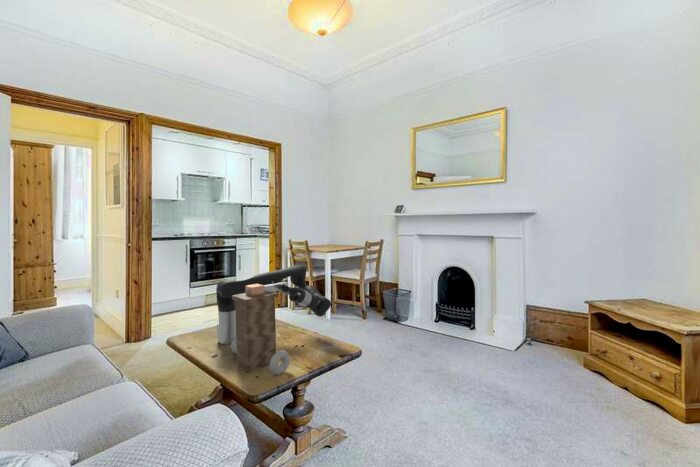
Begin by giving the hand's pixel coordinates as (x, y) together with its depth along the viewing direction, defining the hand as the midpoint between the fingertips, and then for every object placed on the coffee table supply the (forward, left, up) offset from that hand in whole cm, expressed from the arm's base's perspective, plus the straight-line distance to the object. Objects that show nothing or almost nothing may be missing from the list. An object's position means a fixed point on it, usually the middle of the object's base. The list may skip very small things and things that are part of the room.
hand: (276, 285), depth 156 cm
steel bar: (-2, -4, -2) cm, 5 cm away
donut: (+10, -15, -35) cm, 39 cm away
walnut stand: (-5, -10, -34) cm, 36 cm away
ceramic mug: (-18, -2, -35) cm, 39 cm away
